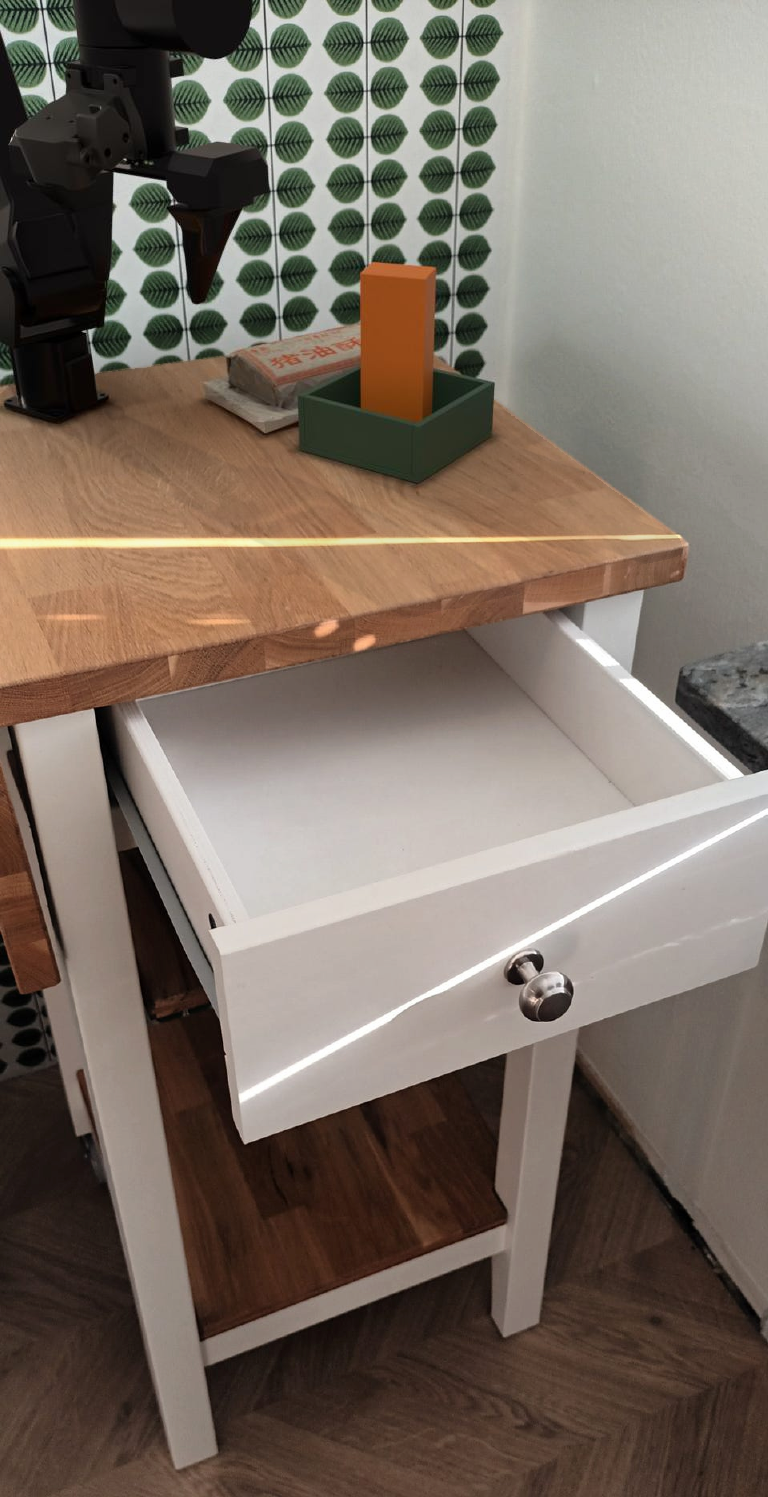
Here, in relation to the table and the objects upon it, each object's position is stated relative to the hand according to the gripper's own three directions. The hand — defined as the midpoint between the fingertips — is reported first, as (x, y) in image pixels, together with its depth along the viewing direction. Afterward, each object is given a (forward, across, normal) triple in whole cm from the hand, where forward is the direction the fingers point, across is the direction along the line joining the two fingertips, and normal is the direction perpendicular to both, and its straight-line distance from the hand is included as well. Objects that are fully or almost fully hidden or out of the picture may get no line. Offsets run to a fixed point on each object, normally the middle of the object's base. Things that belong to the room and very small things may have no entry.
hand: (149, 292), depth 89 cm
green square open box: (+13, +12, +13) cm, 22 cm away
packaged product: (+13, +1, +18) cm, 23 cm away
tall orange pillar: (+12, +12, +13) cm, 22 cm away
